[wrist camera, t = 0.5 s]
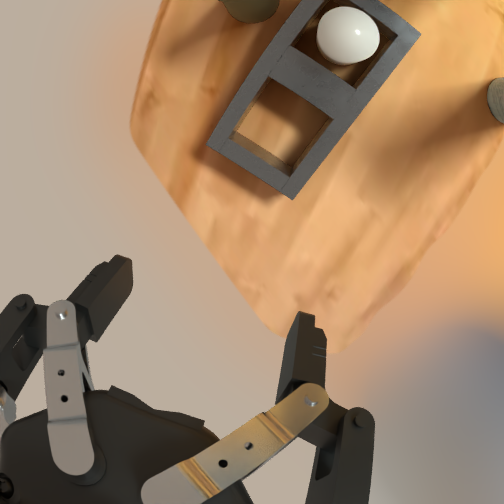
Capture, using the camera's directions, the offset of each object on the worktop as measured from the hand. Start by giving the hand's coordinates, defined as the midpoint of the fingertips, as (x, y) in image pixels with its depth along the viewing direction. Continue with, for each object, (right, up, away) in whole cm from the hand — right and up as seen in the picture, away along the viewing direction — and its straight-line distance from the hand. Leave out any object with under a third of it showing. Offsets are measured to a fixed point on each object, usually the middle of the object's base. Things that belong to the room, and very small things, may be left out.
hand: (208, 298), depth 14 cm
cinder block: (+9, +21, +16) cm, 28 cm away
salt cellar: (+12, +25, +13) cm, 30 cm away
